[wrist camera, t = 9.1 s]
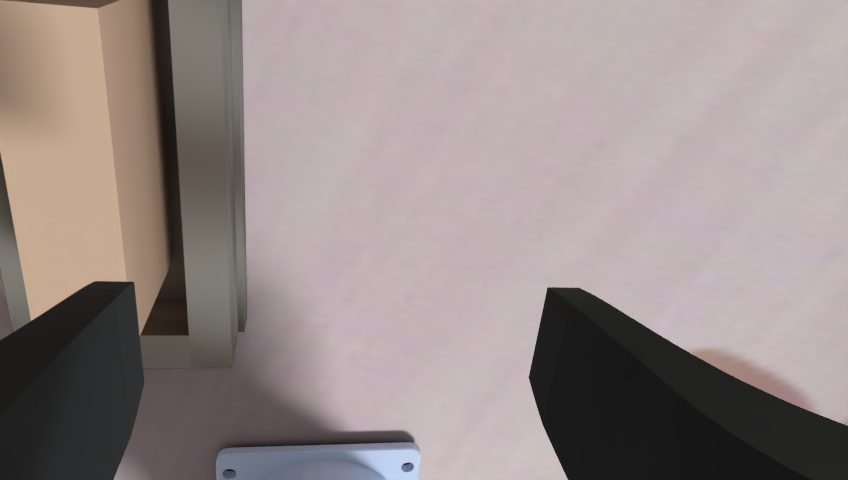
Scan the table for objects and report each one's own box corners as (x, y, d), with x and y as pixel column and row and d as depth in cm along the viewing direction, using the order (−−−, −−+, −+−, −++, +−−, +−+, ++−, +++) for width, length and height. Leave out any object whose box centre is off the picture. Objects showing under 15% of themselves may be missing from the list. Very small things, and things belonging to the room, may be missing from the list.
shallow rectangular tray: (246, 316, 23) (237, 367, 20) (49, 315, 22) (12, 369, 19) (240, -72, 18) (226, -71, 15) (-20, -100, 16) (-85, -105, 14)
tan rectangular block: (173, 257, 20) (134, 350, 16) (98, 256, 20) (36, 350, 15) (154, -13, 17) (97, 8, 12) (64, -21, 17) (-28, -3, 12)
